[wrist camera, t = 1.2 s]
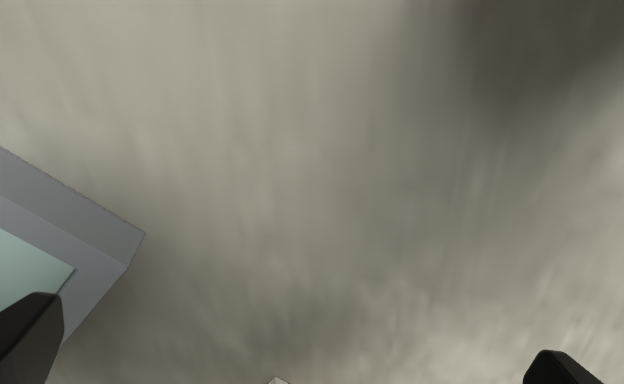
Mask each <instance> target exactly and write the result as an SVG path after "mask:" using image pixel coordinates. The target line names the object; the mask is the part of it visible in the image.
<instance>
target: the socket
mask: <svg viewBox="0 0 624 384" xmlns="http://www.w3.org/2000/svg"><path fill="white" fill-rule="evenodd" d="M144 235H145V233H144V232H142V231H141V230H139V229H137V228H135V227H134V226H132V225H130V224H129V223H127V222H125V221H124V220H122V219H120V218H119V217H117V216H115V215H114V214H112V213H110V212H109V211H107V210H105V209H104V208H102V207H100V206H99V205H97V204H95V203H94V202H92V201H90V200H89V199H87V198H85V197H84V196H82V195H80V194H79V193H77V192H75V191H74V190H72V189H70V188H69V187H67V186H65V185H64V184H62V183H60V182H59V181H57V180H55V179H54V178H52V177H50V176H49V175H47V174H45V173H43V172H42V171H40V170H38V169H37V168H35V167H33V166H32V165H30V164H28V163H27V162H25V161H23V160H22V159H20V158H18V157H17V156H15V155H13V154H12V153H10V152H8V151H7V150H5V149H3V148H2V147H0V311H2V310H3V309H5V308H6V307H8V306H10V305H11V304H13V303H15V302H16V301H18V300H20V299H21V298H23V297H25V296H26V295H28V294H30V293H32V292H36V291H39V292H48V293H56V294H59V295H60V297H61V299H62V307H63V316H64V326H65V330H64V336H63V340H62V343H61V345H60V347H61V346H62V345H63V343H64V342H65V341H66V340H67V339H68V338H69V336H70V335H71V334H72V333H73V332H74V330H75V329H76V328H77V327H78V326H79V325H80V323H81V322H82V321H83V320H84V319H85V317H86V316H87V315H88V314H89V313H90V311H91V310H92V309H93V308H94V307H95V306H96V304H97V303H98V302H99V301H100V300H101V298H102V297H103V296H104V295H105V294H106V293H107V291H108V290H109V289H110V288H111V287H112V285H113V284H114V283H115V282H116V281H117V280H118V278H119V277H120V276H121V275H122V274H123V272H124V271H125V270H126V269H127V268H128V266H129V264H130V262H131V260H132V258H133V257H134V255H135V253H136V251H137V249H138V247H139V245H140V243H141V241H142V239H143V237H144ZM60 347H59V348H60Z"/></svg>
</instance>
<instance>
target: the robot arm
mask: <svg viewBox="0 0 624 384" xmlns="http://www.w3.org/2000/svg"><path fill="white" fill-rule="evenodd" d="M64 330H65V326H64V316H63V307H62V299H61V297H60V295H59V294H56V293H48V292H39V291H36V292H32V293H30V294H28V295H26V296H25V297H23V298H21V299H20V300H18V301H16V302H15V303H13V304H11V305H10V306H8V307H6V308H5V309H3V310H2V311H0V384H45V381H46V379H47V377H48V374H49V372H50V369H51V367H52V364H53V362H54V360H55V357H56V355H57V352H58V350H59V347H60V345H61V343H62V340H63V336H64ZM523 384H604V383H602V382H601V381H600V380H599V379H597V378H596V377H595V376H594V375H592V374H591V373H590V372H589V371H587V370H586V369H585V368H584V367H582V366H581V365H580V364H579V363H577V362H576V361H575V360H574V359H572V358H571V357H570V356H569V355H567V354H566V353H564V352H561V351H554V350H542V351H540V352H539V353H538V354H537V356H536V357H535V359H534V361H533V362H532V364H531V365H530V367H529V369H528V370H527V372H526V373H525V375H524V378H523Z"/></svg>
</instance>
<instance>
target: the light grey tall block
mask: <svg viewBox="0 0 624 384" xmlns="http://www.w3.org/2000/svg"><path fill="white" fill-rule="evenodd" d="M268 384H288V383H287V382H285V381H283V380H281V379H279V378H277V377H275V378H274V379H272V380H271V381H270V382H269V383H268Z"/></svg>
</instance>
